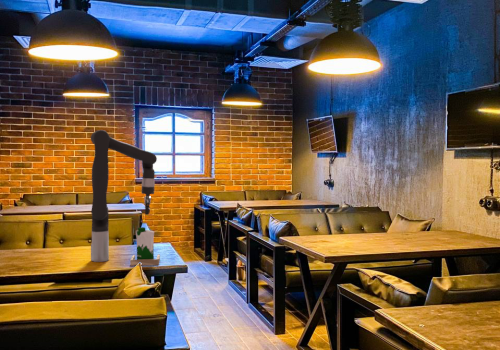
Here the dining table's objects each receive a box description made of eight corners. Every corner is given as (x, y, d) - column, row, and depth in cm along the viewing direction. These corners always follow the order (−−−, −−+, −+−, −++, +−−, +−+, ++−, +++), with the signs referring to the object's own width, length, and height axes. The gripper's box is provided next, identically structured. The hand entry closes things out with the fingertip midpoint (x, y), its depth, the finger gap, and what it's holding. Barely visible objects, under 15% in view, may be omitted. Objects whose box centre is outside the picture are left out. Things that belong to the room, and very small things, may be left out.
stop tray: (132, 260, 285) (132, 255, 285) (159, 259, 288) (159, 254, 287) (130, 265, 271) (130, 260, 271) (158, 264, 273) (158, 259, 273)
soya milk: (134, 262, 279) (134, 227, 279) (148, 260, 285) (148, 226, 285) (142, 264, 273) (141, 229, 272) (156, 262, 279) (156, 227, 278)
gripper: (141, 185, 303) (140, 213, 303) (141, 186, 290) (140, 215, 290) (154, 186, 305) (152, 213, 305) (154, 186, 292) (153, 215, 292)
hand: (146, 214), depth 297 cm, fingers closed
